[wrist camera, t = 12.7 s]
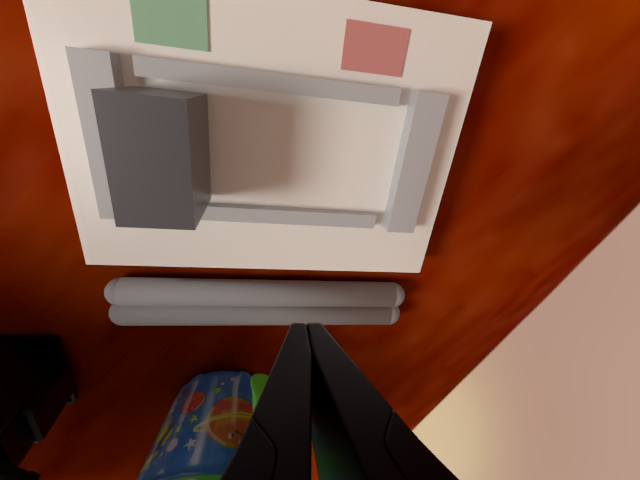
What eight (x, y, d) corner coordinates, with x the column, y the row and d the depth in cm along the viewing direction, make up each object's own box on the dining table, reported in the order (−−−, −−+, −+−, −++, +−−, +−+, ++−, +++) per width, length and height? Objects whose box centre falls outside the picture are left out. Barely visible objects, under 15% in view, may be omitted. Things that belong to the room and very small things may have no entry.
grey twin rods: (118, 313, 22) (106, 332, 20) (6, -227, 11) (-36, -276, 10) (392, 313, 25) (400, 329, 24) (502, -105, 15) (530, -126, 13)
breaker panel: (102, 247, 20) (76, 274, 17) (42, -44, 14) (-14, -74, 11) (408, 257, 23) (426, 281, 20) (469, 27, 17) (505, 18, 14)
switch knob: (149, 194, 16) (115, 226, 13) (136, 86, 14) (90, 89, 11) (211, 198, 17) (195, 230, 13) (207, 93, 15) (186, 99, 11)
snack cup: (226, 463, 31) (208, 620, 22) (118, 429, 27) (42, 605, 18) (332, 364, 27) (362, 508, 18) (223, 307, 23) (191, 456, 14)
